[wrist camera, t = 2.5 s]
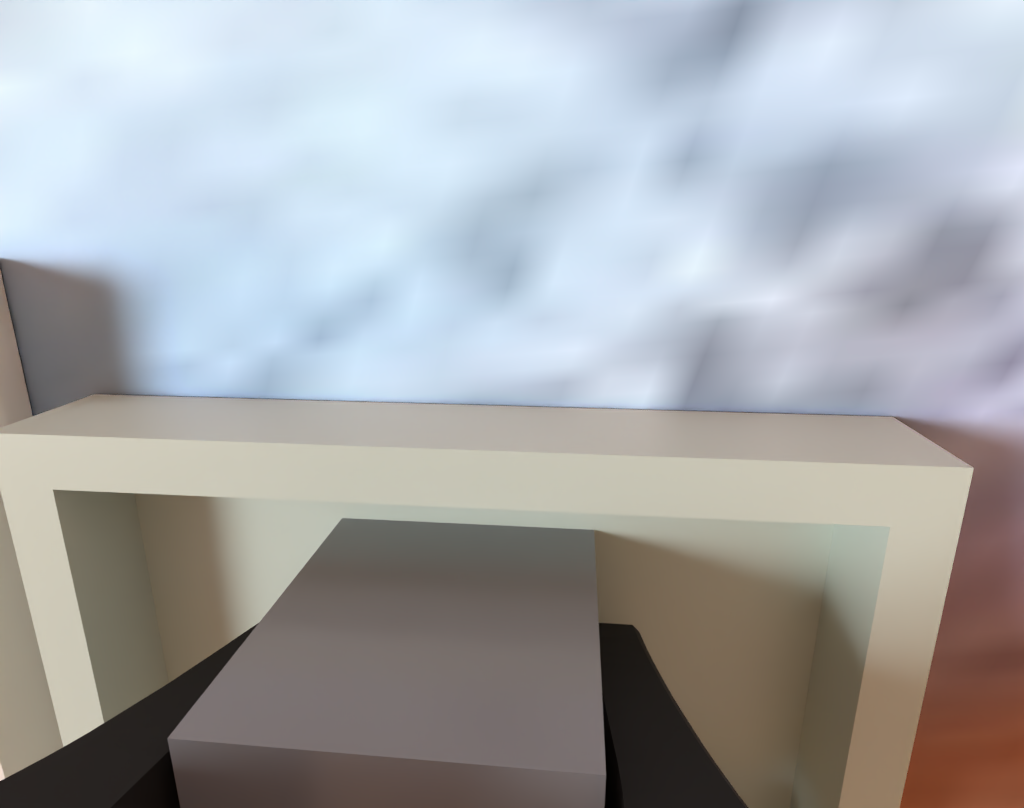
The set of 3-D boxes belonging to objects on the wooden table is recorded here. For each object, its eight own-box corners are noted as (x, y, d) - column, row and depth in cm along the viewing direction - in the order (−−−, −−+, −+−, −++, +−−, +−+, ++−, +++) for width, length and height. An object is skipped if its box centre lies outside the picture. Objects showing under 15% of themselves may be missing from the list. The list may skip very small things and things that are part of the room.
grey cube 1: (586, 740, 11) (590, 1082, 7) (359, 722, 11) (223, 1034, 7) (593, 529, 10) (606, 775, 5) (342, 518, 10) (167, 737, 6)
